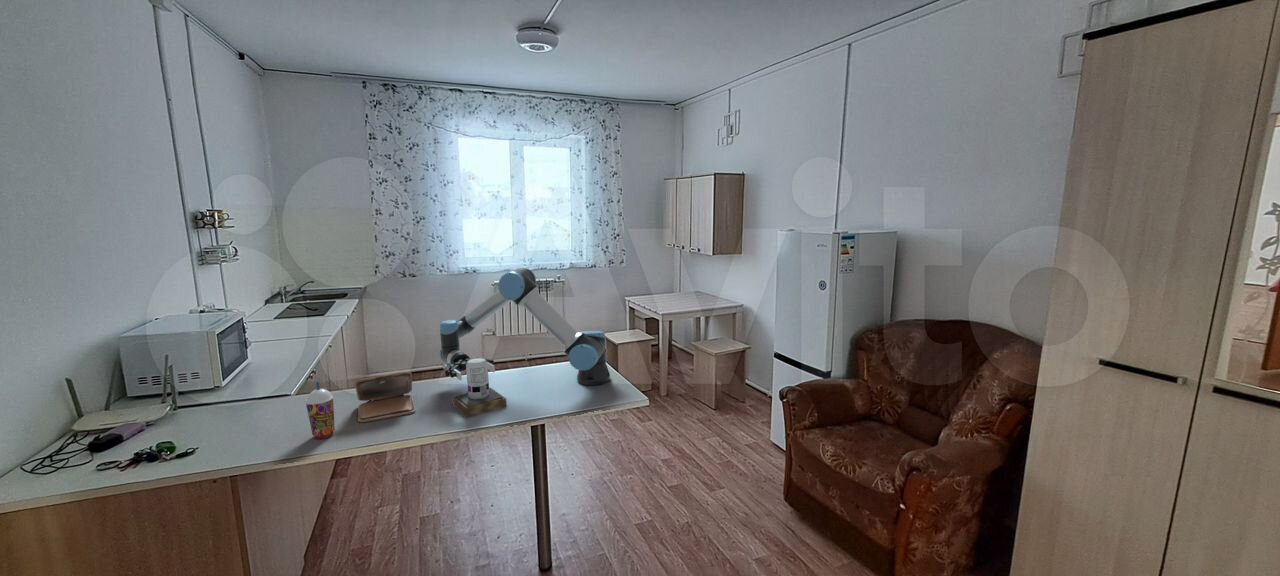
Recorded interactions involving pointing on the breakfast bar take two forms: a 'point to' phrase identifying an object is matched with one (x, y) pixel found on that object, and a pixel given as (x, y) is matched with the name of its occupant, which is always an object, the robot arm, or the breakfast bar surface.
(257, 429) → the breakfast bar surface
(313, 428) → the smoothie
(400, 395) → the case
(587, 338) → the robot arm
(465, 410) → the podium
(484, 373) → the supplement can
